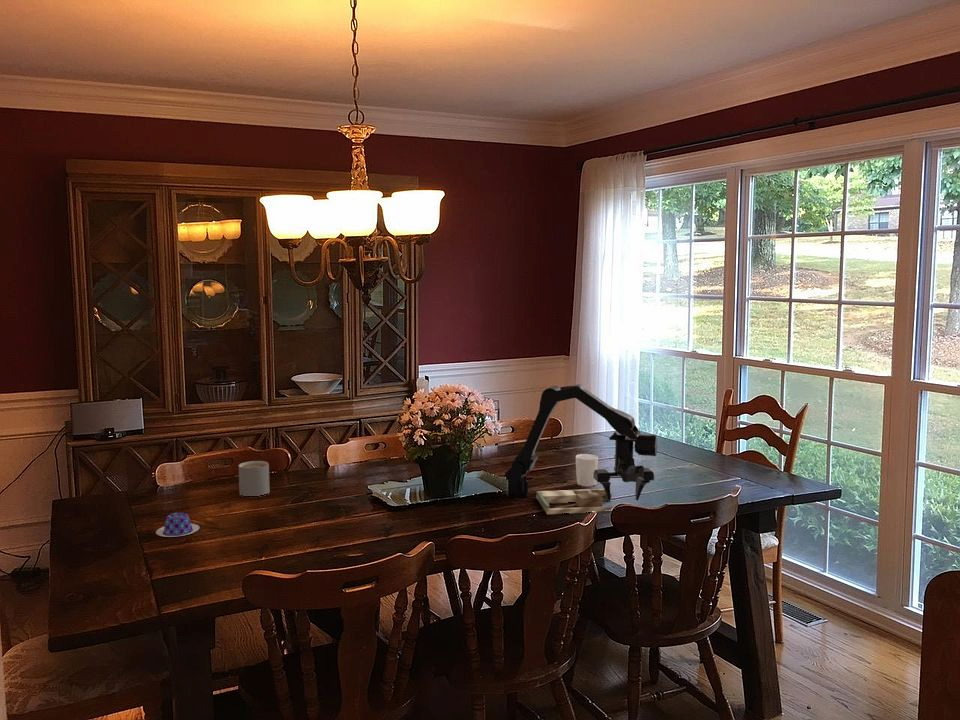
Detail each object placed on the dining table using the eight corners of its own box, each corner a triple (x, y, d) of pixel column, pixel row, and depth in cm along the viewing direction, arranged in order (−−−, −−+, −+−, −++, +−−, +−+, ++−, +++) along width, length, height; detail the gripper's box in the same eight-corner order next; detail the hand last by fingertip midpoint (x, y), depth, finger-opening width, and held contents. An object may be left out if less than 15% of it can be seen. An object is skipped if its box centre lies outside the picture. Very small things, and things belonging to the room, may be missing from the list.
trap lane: (547, 514, 249) (547, 506, 248) (536, 498, 265) (536, 491, 265) (621, 511, 252) (621, 503, 251) (606, 495, 268) (606, 488, 268)
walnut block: (582, 510, 253) (582, 498, 253) (575, 506, 258) (576, 494, 257) (602, 508, 255) (602, 496, 255) (595, 504, 260) (595, 492, 259)
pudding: (149, 532, 234) (148, 515, 233) (188, 522, 243) (187, 506, 242) (167, 542, 226) (166, 524, 225) (206, 532, 234) (206, 514, 234)
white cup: (580, 487, 278) (580, 460, 277) (572, 482, 286) (572, 454, 284) (601, 486, 280) (601, 458, 279) (592, 480, 288) (592, 453, 286)
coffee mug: (270, 495, 270) (269, 466, 268) (239, 498, 267) (238, 469, 266) (268, 485, 282) (267, 457, 281) (239, 487, 279) (238, 459, 278)
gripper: (602, 460, 247) (601, 509, 249) (660, 458, 249) (659, 507, 251) (593, 452, 258) (592, 499, 260) (648, 450, 260) (647, 497, 262)
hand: (623, 500), depth 258 cm, fingers open, 9 cm apart
